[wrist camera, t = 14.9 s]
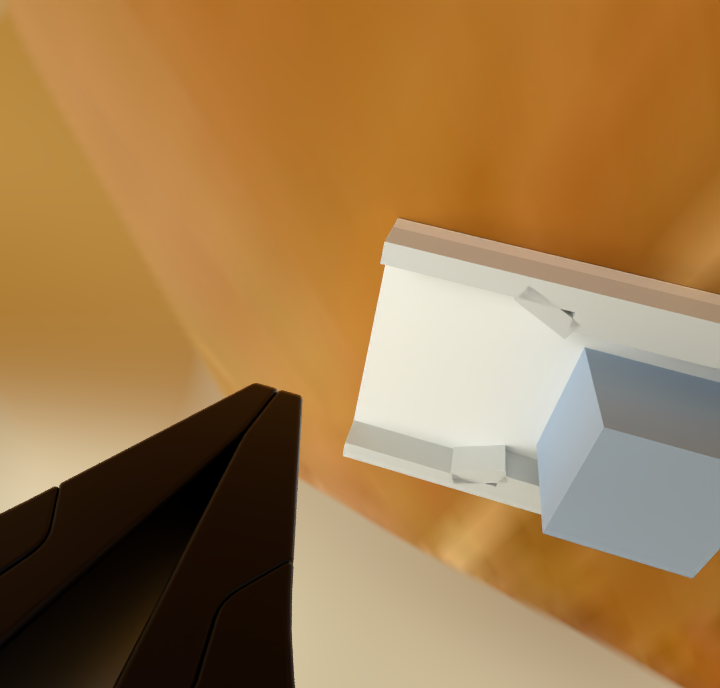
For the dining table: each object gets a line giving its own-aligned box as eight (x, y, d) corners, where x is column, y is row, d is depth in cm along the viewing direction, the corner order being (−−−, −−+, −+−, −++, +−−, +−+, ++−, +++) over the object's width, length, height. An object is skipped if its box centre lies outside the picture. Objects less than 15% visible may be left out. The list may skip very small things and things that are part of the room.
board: (801, 314, 17) (841, 353, 15) (658, 506, 23) (674, 554, 21) (398, 217, 19) (384, 241, 17) (356, 419, 24) (342, 455, 22)
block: (727, 384, 18) (784, 477, 14) (659, 479, 21) (692, 578, 17) (584, 347, 19) (604, 427, 15) (536, 444, 21) (542, 533, 18)
